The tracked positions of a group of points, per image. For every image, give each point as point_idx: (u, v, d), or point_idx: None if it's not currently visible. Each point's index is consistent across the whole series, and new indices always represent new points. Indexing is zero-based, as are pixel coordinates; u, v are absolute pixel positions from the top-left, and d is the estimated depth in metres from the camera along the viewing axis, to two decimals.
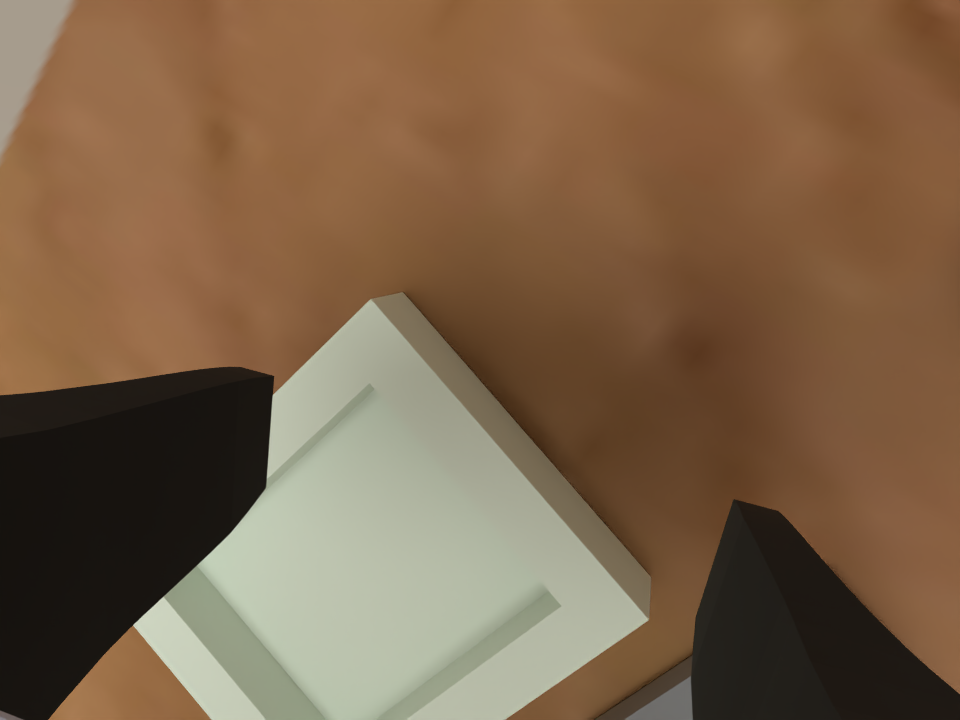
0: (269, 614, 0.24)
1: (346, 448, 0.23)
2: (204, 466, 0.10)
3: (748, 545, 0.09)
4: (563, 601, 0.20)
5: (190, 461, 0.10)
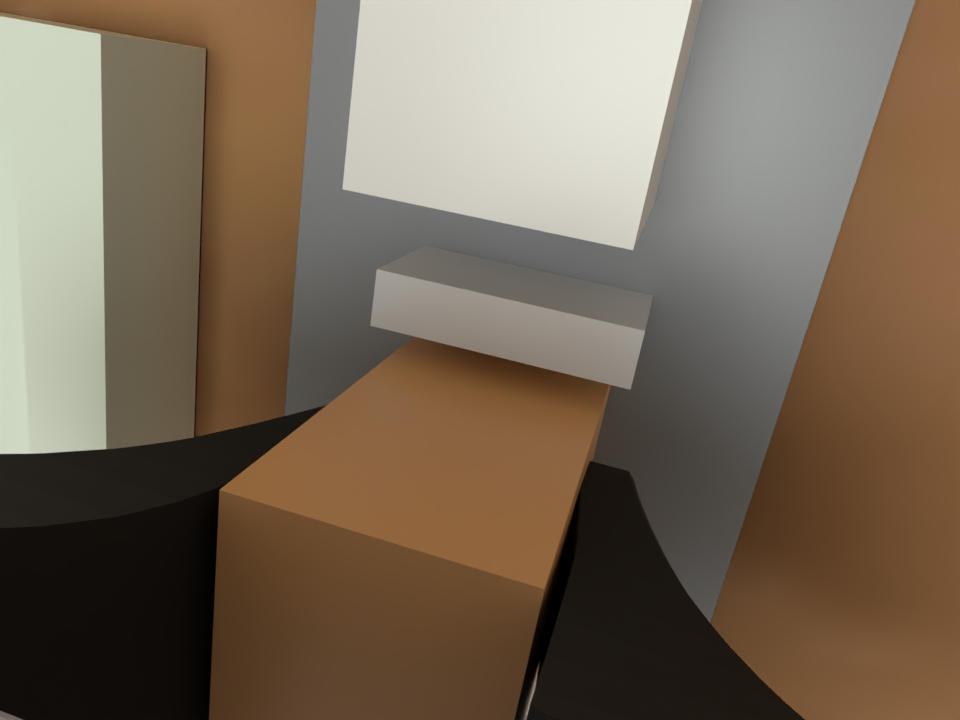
0: None
1: None
2: None
3: (578, 498, 0.09)
4: (8, 121, 0.11)
5: None
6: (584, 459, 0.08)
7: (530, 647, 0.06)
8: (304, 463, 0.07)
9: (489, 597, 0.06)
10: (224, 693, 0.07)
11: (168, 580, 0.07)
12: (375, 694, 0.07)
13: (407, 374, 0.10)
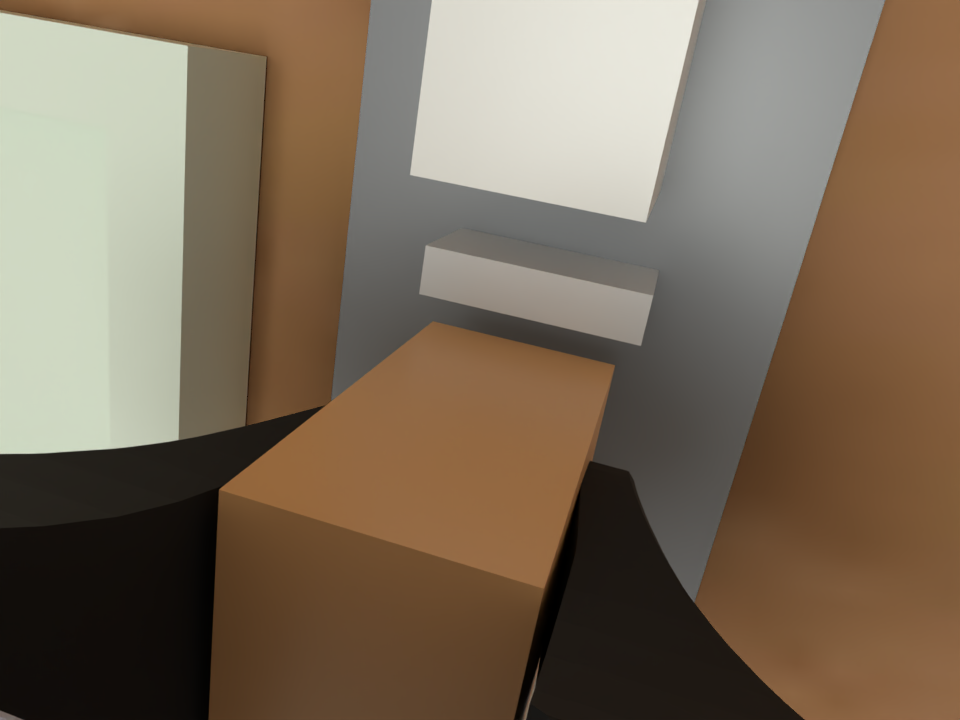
0: None
1: None
2: None
3: (578, 498, 0.09)
4: (102, 120, 0.13)
5: None
6: (584, 459, 0.08)
7: (530, 647, 0.06)
8: (304, 463, 0.07)
9: (489, 596, 0.06)
10: (224, 693, 0.07)
11: (168, 581, 0.07)
12: (374, 693, 0.07)
13: (408, 373, 0.10)
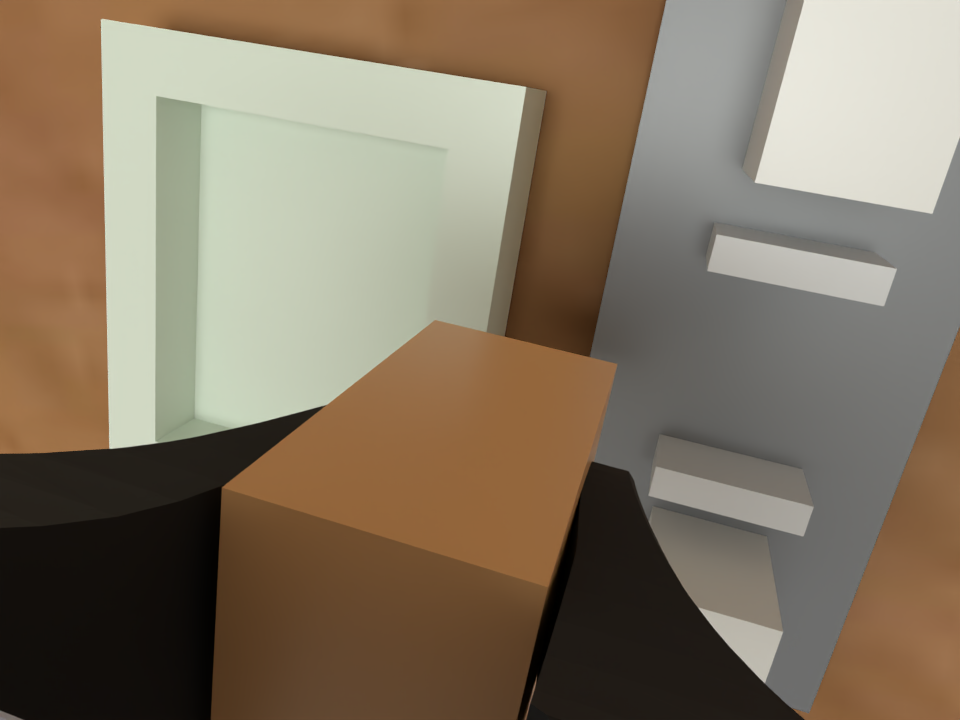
0: (281, 414, 0.23)
1: (221, 205, 0.22)
2: None
3: None
4: (445, 142, 0.17)
5: None
6: (587, 457, 0.08)
7: (533, 645, 0.06)
8: (307, 462, 0.07)
9: (491, 595, 0.06)
10: (226, 691, 0.07)
11: (167, 580, 0.07)
12: (378, 692, 0.07)
13: (410, 371, 0.10)
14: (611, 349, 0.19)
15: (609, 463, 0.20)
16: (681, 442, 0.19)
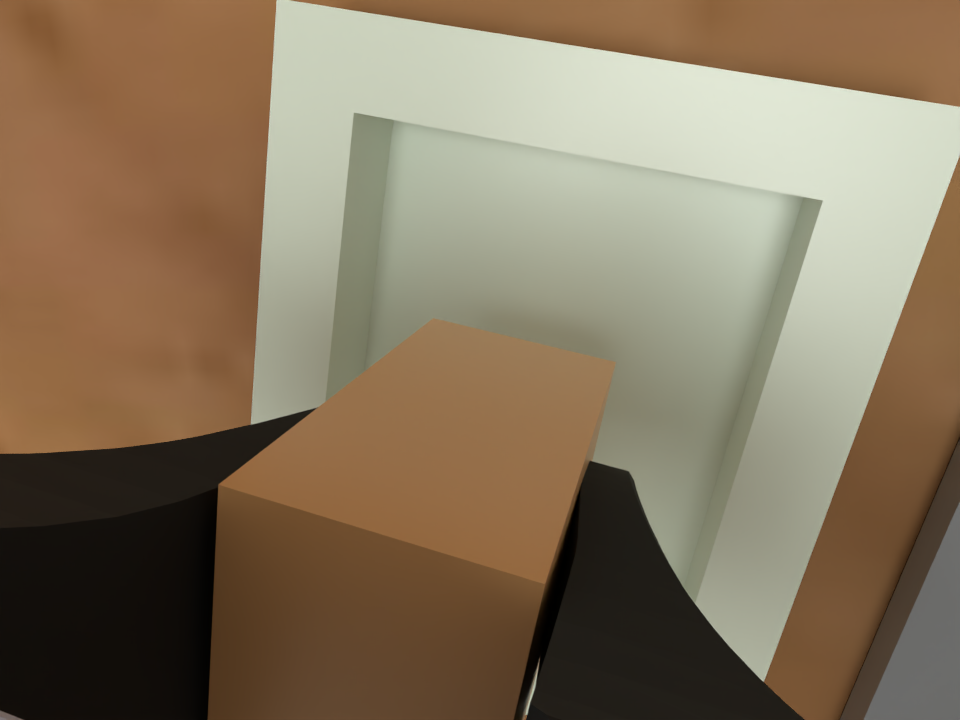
0: None
1: (410, 260, 0.16)
2: None
3: (578, 498, 0.09)
4: (820, 191, 0.11)
5: None
6: (584, 455, 0.08)
7: (530, 642, 0.06)
8: (304, 459, 0.07)
9: (489, 592, 0.06)
10: (223, 689, 0.07)
11: (167, 581, 0.07)
12: (374, 690, 0.07)
13: (408, 369, 0.10)
14: None
15: None
16: None
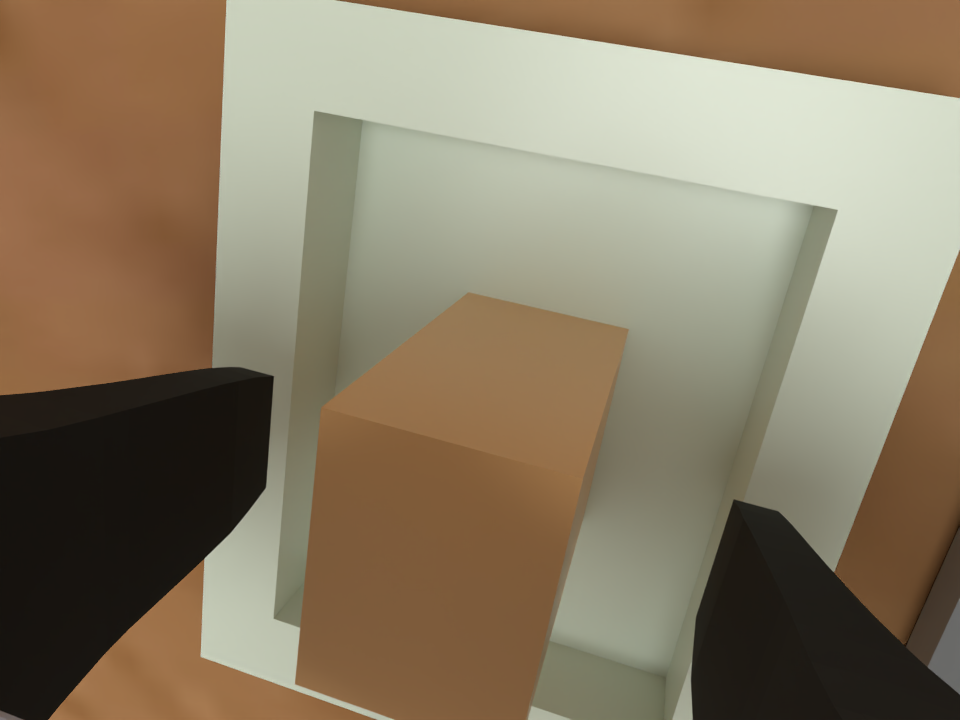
0: None
1: (383, 272, 0.14)
2: (204, 466, 0.10)
3: (748, 545, 0.09)
4: (835, 199, 0.10)
5: (190, 461, 0.10)
6: (607, 396, 0.10)
7: (570, 528, 0.08)
8: (383, 392, 0.09)
9: (538, 487, 0.08)
10: (316, 580, 0.09)
11: None
12: (443, 574, 0.09)
13: (453, 331, 0.12)
14: None
15: None
16: None
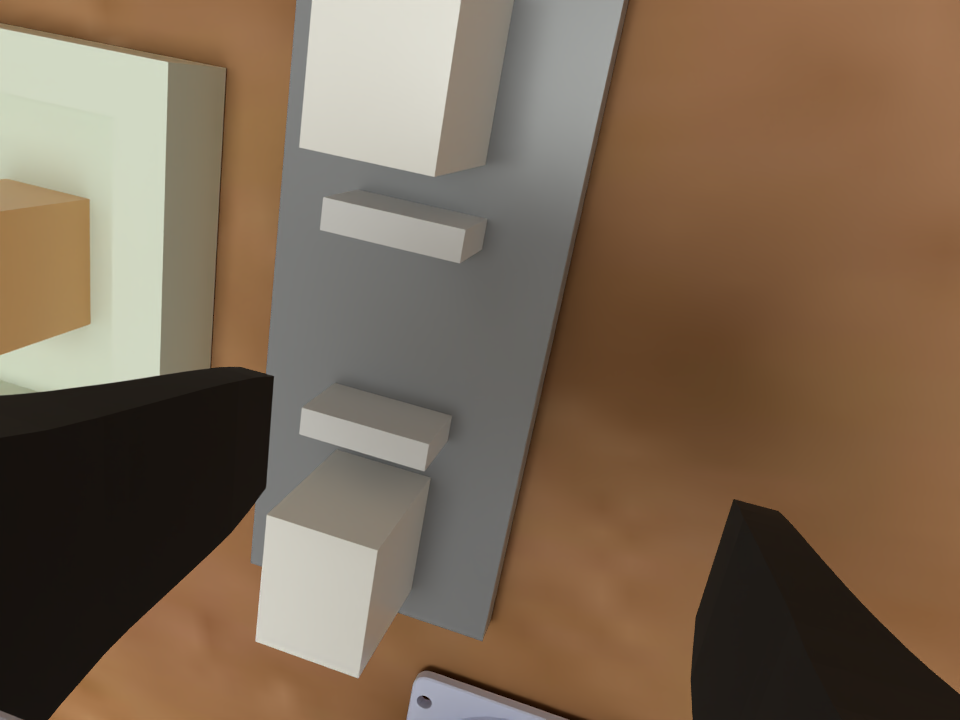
0: (30, 363, 0.25)
1: None
2: (204, 466, 0.10)
3: (748, 545, 0.09)
4: (110, 111, 0.19)
5: (190, 461, 0.10)
6: None
7: None
8: None
9: None
10: None
11: None
12: None
13: None
14: (288, 305, 0.21)
15: (297, 410, 0.22)
16: (350, 390, 0.22)
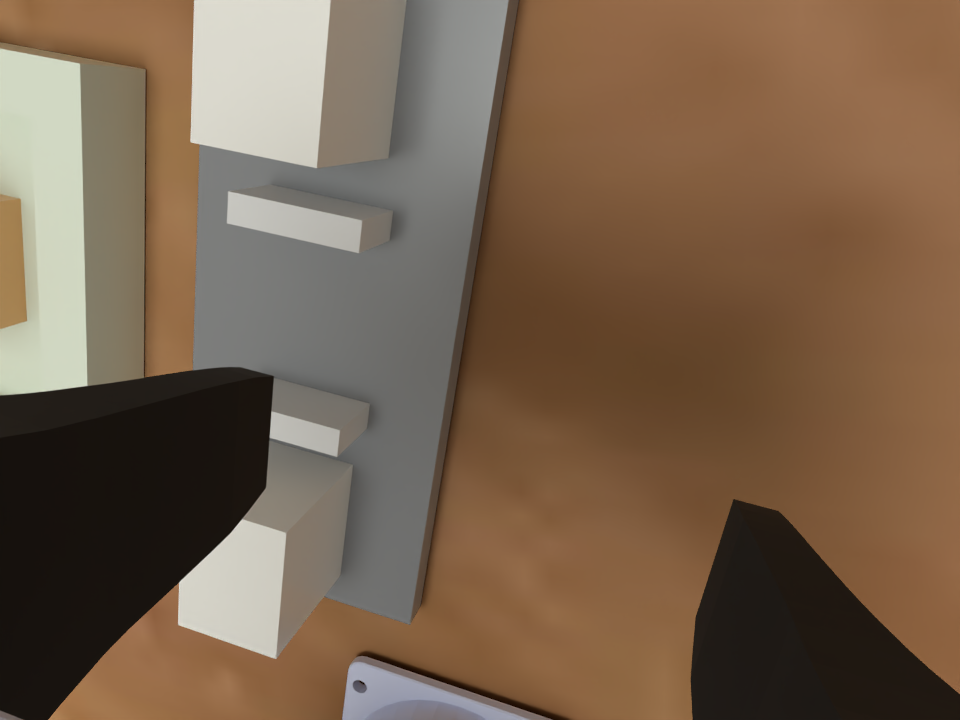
0: None
1: None
2: (204, 466, 0.10)
3: (748, 545, 0.09)
4: (28, 112, 0.20)
5: (189, 461, 0.10)
6: None
7: None
8: None
9: None
10: None
11: None
12: None
13: None
14: (210, 298, 0.22)
15: None
16: None
